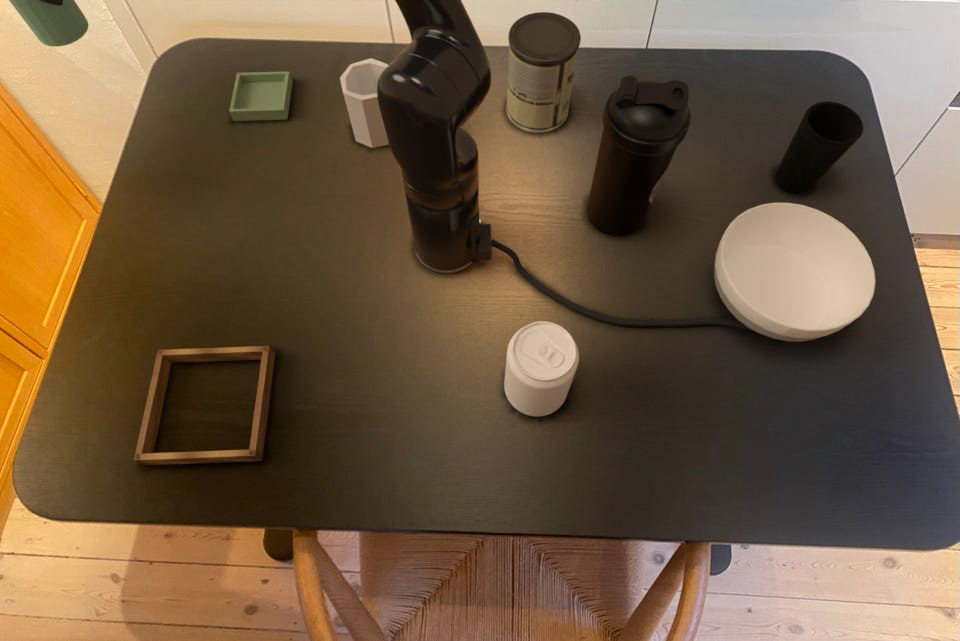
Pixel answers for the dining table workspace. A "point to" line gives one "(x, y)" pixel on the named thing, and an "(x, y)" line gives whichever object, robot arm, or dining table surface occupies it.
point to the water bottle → (636, 151)
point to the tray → (261, 96)
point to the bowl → (793, 272)
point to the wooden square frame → (158, 395)
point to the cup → (817, 145)
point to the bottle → (53, 21)
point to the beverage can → (540, 368)
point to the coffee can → (541, 70)
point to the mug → (364, 101)
